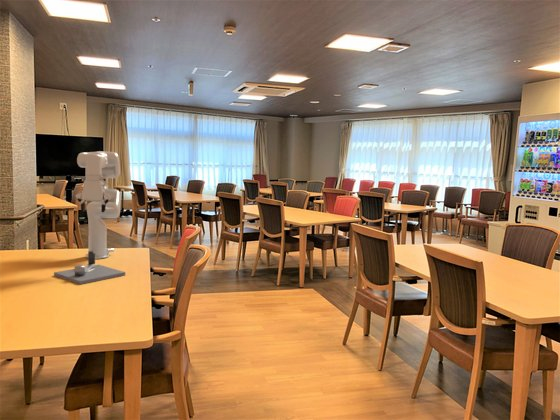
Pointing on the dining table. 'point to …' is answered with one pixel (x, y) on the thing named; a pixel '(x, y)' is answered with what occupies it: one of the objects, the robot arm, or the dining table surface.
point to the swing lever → (82, 268)
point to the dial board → (90, 274)
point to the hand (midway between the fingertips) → (93, 211)
